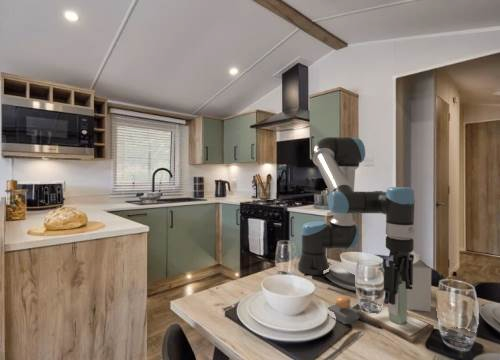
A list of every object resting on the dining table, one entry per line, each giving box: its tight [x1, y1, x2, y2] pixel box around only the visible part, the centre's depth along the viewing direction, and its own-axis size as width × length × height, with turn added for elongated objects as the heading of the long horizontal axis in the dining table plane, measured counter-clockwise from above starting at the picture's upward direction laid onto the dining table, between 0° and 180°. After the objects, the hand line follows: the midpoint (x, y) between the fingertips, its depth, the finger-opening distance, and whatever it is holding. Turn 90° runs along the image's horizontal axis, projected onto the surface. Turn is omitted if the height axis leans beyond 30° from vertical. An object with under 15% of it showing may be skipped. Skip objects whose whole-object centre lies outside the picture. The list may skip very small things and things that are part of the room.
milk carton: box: [407, 250, 432, 313], centre depth 94 cm, size 7×7×19 cm
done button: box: [335, 295, 351, 308], centre depth 86 cm, size 4×4×2 cm
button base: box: [327, 304, 360, 325], centre depth 86 cm, size 7×7×2 cm
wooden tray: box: [357, 303, 434, 344], centre depth 84 cm, size 18×13×2 cm
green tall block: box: [389, 275, 408, 324], centre depth 82 cm, size 4×4×14 cm
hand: (398, 310), depth 82 cm, fingers open, 5 cm apart
